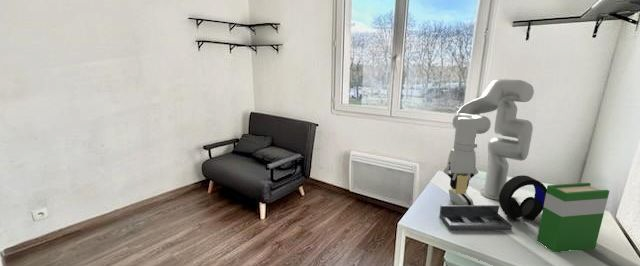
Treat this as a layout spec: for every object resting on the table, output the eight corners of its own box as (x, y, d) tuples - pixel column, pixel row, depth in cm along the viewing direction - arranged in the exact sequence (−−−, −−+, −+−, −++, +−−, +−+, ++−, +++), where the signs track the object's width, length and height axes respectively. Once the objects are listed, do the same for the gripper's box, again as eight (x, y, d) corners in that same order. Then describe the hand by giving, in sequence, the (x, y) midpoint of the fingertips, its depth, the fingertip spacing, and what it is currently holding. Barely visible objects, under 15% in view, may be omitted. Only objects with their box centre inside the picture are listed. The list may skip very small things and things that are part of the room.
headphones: (505, 223, 126) (511, 181, 121) (495, 215, 132) (501, 175, 127) (544, 221, 127) (552, 179, 122) (532, 214, 133) (540, 174, 129)
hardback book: (575, 237, 115) (588, 182, 110) (594, 248, 108) (609, 190, 102) (536, 241, 113) (547, 185, 107) (553, 252, 106) (566, 193, 100)
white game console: (479, 214, 133) (475, 196, 130) (470, 218, 133) (465, 200, 130) (459, 198, 149) (454, 182, 147) (450, 201, 149) (446, 185, 147)
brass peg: (461, 189, 124) (463, 172, 122) (466, 193, 119) (468, 176, 117) (451, 189, 124) (453, 172, 122) (455, 193, 119) (457, 176, 118)
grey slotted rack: (495, 217, 131) (497, 205, 129) (511, 230, 120) (513, 218, 119) (439, 216, 131) (440, 205, 130) (449, 230, 121) (450, 217, 119)
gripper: (479, 144, 120) (474, 184, 125) (439, 144, 121) (435, 184, 125) (489, 149, 113) (483, 191, 117) (447, 149, 113) (442, 191, 118)
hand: (458, 187), depth 121 cm, fingers closed on brass peg, 4 cm apart
